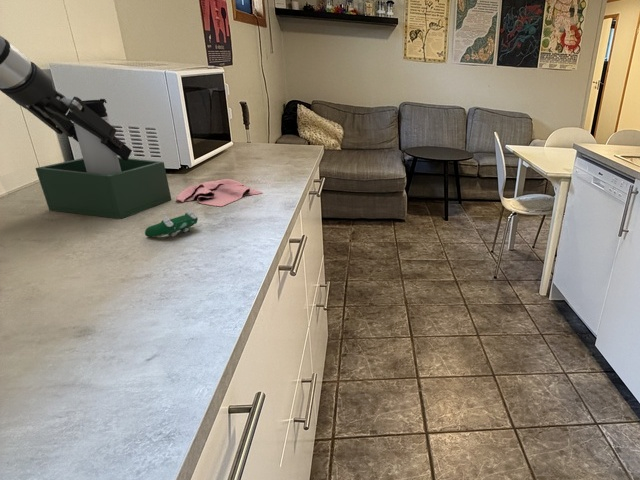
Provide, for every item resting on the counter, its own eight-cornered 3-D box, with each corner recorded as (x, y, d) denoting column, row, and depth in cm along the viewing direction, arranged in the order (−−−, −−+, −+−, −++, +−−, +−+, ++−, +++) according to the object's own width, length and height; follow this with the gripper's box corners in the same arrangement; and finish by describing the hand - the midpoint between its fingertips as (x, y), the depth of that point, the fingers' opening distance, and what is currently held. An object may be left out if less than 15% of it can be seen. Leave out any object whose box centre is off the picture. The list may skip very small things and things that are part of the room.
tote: (49, 210, 102) (35, 168, 97) (108, 192, 116) (97, 154, 112) (120, 219, 100) (109, 176, 96) (171, 199, 114) (163, 161, 110)
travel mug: (129, 196, 106) (106, 100, 97) (93, 199, 103) (66, 100, 93) (127, 189, 110) (105, 97, 101) (93, 191, 107) (67, 96, 98)
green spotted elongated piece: (154, 248, 92) (167, 231, 89) (141, 232, 91) (153, 215, 88) (193, 234, 99) (205, 218, 96) (180, 220, 99) (193, 203, 96)
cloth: (237, 180, 134) (236, 172, 132) (274, 198, 120) (273, 189, 119) (158, 190, 120) (155, 180, 119) (189, 211, 107) (187, 201, 106)
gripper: (-40, 86, 85) (71, 163, 106) (49, 96, 81) (145, 172, 103) (-19, 54, 87) (86, 135, 109) (68, 62, 84) (158, 144, 105)
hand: (114, 153), depth 106 cm, fingers closed on travel mug, 6 cm apart
